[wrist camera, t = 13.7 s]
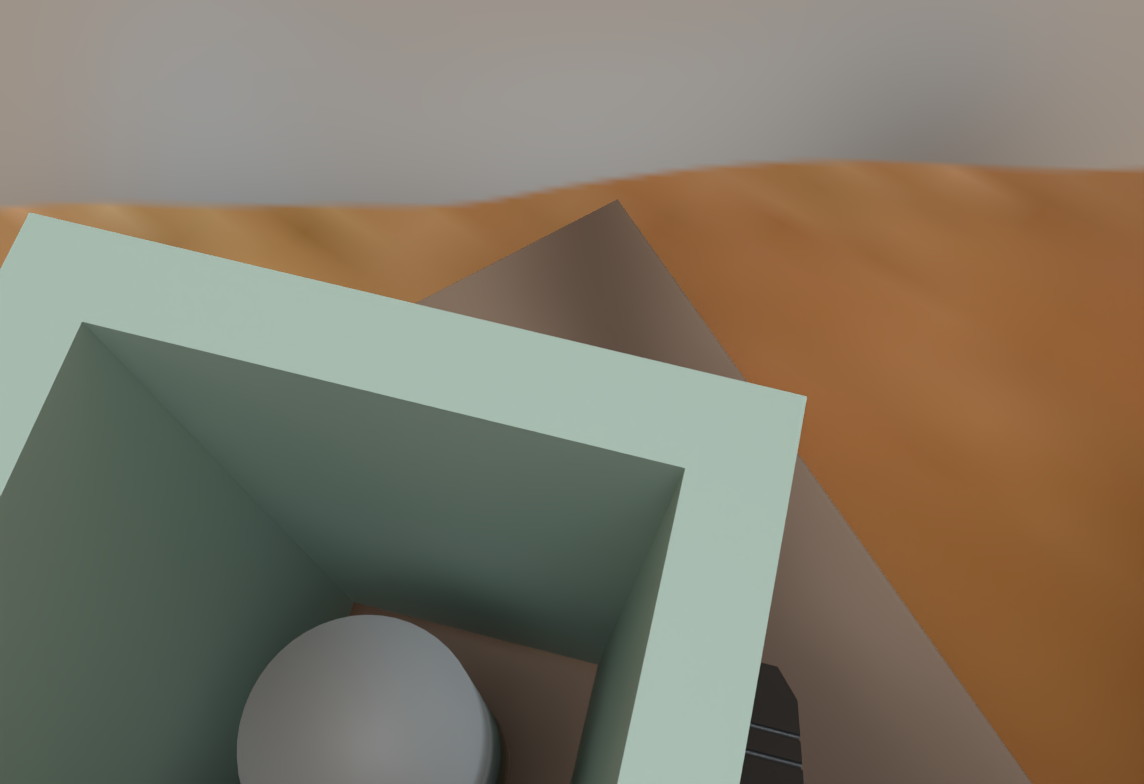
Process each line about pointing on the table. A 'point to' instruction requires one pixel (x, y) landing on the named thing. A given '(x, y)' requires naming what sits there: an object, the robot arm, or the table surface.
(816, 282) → the table surface
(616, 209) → the post board
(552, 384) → the square hollow tube
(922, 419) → the table surface
